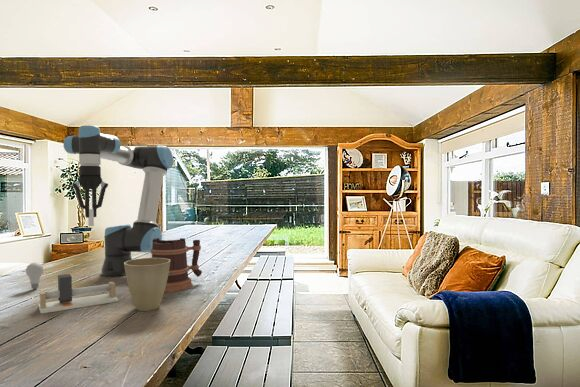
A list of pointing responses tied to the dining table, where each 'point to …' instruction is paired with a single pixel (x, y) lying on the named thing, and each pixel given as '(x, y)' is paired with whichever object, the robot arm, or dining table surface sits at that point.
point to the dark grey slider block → (65, 288)
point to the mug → (177, 262)
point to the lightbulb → (34, 274)
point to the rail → (78, 302)
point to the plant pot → (147, 281)
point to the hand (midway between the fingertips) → (91, 225)
